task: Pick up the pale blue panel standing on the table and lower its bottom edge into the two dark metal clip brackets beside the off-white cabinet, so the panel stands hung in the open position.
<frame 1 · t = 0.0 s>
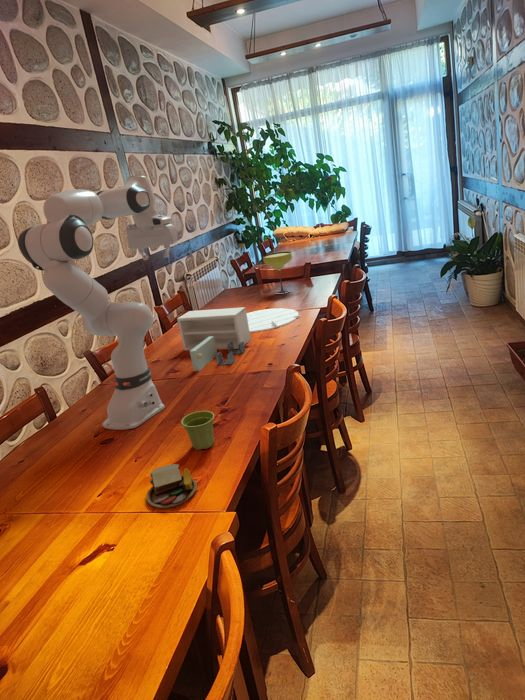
hand: (156, 258, 179), 48 cm above the table, tool pointing down, fingers open, 8 cm apart
toy sandwich meal: (171, 494, 117), on the table
plant pot: (203, 445, 136), on the table
hinge clips: (231, 357, 203), on the table
cocktail glass: (282, 293, 306), on the table
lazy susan: (262, 321, 251), on the table
pale blue panel: (206, 362, 203), on the table
cabinet: (217, 344, 224), on the table
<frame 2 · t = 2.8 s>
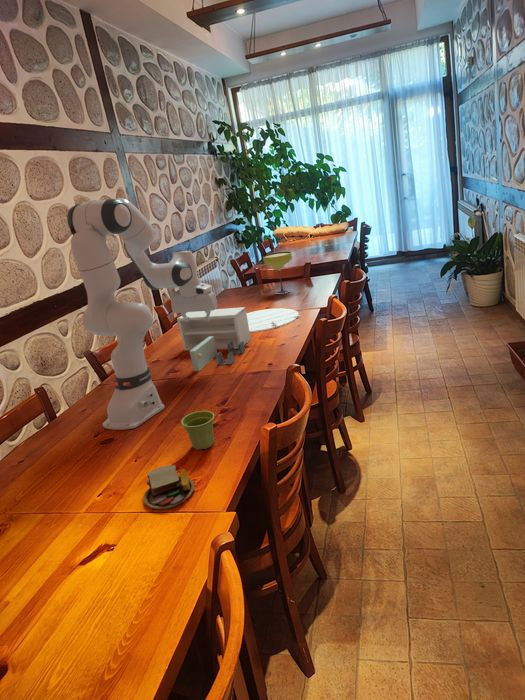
hand: (197, 321, 197), 19 cm above the table, tool pointing down, fingers open, 8 cm apart
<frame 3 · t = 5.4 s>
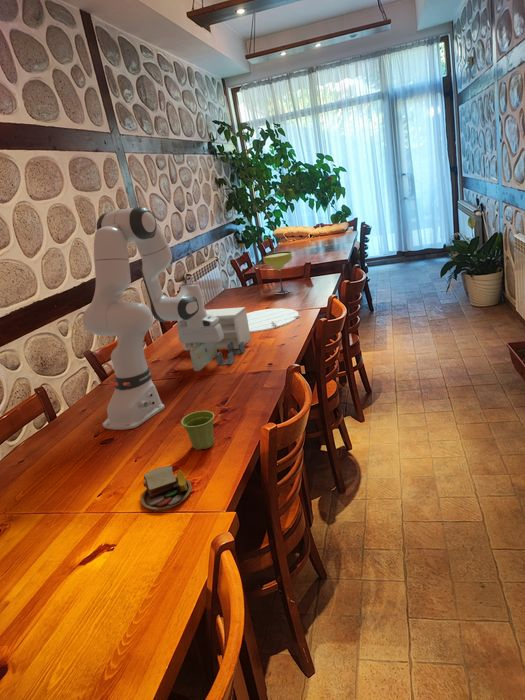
hand: (203, 351, 201), 5 cm above the table, tool pointing down, fingers closed on pale blue panel, 2 cm apart
pale blue panel: (206, 362, 203), on the table, touching gripper
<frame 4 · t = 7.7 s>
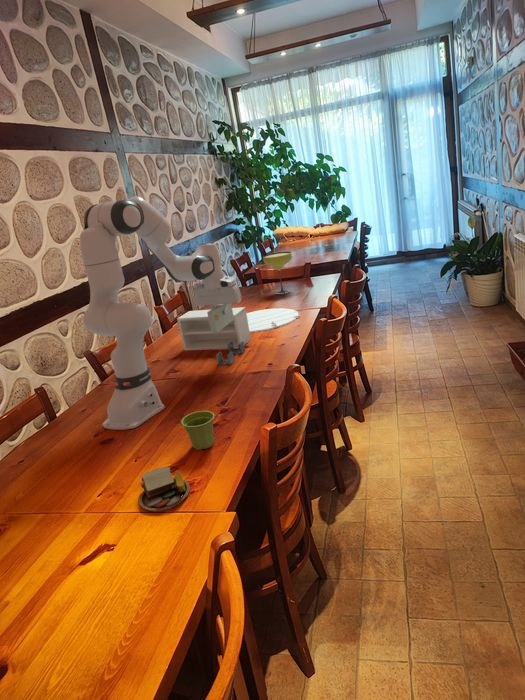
hand: (220, 314, 197), 20 cm above the table, tool pointing down, fingers closed on pale blue panel, 2 cm apart
pale blue panel: (223, 325, 199), point 15 cm above the table, touching gripper
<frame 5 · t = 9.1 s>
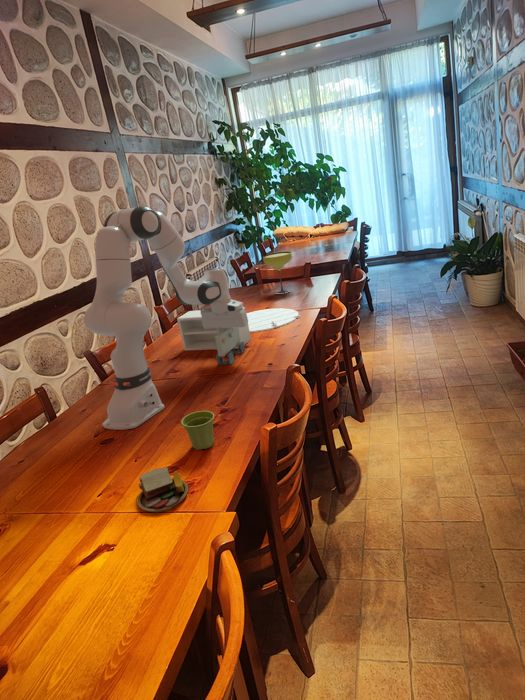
hand: (227, 337, 200), 9 cm above the table, tool pointing down, fingers closed on pale blue panel, 2 cm apart
pale blue panel: (230, 348, 202), point 4 cm above the table, touching gripper
when the fingers open (7 cm above the table, at t = 10.1 s): pale blue panel drops 1 cm, resting on hinge clips.
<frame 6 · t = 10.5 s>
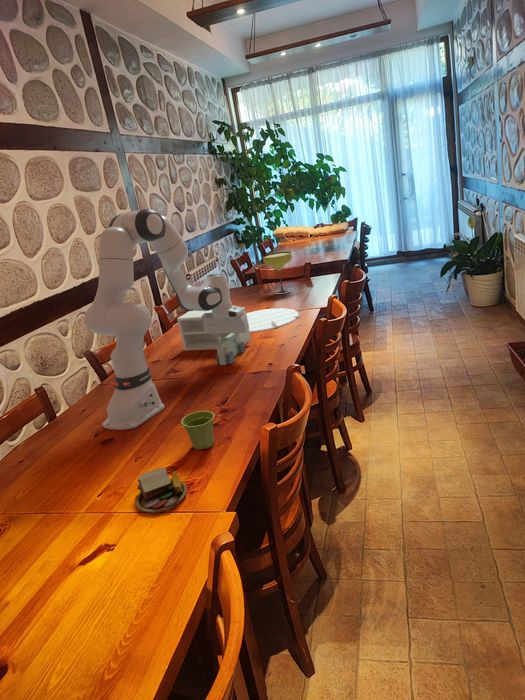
hand: (228, 342, 201), 7 cm above the table, tool pointing down, fingers open, 6 cm apart
pale blue panel: (231, 356, 203), resting on hinge clips
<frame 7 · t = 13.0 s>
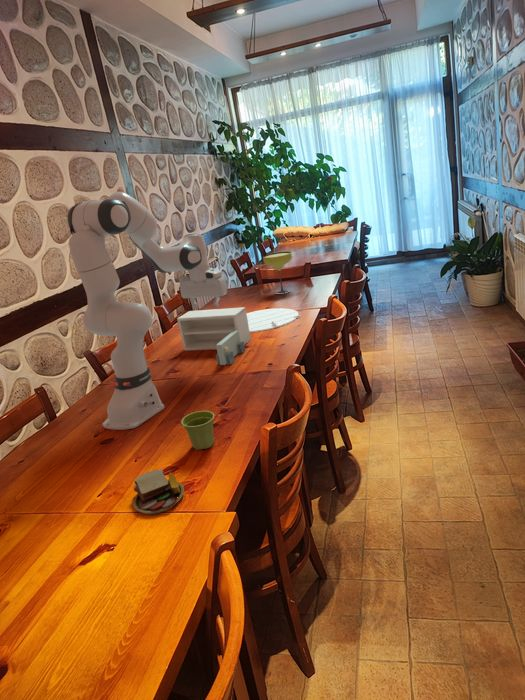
hand: (206, 307, 194), 24 cm above the table, tool pointing down, fingers open, 8 cm apart
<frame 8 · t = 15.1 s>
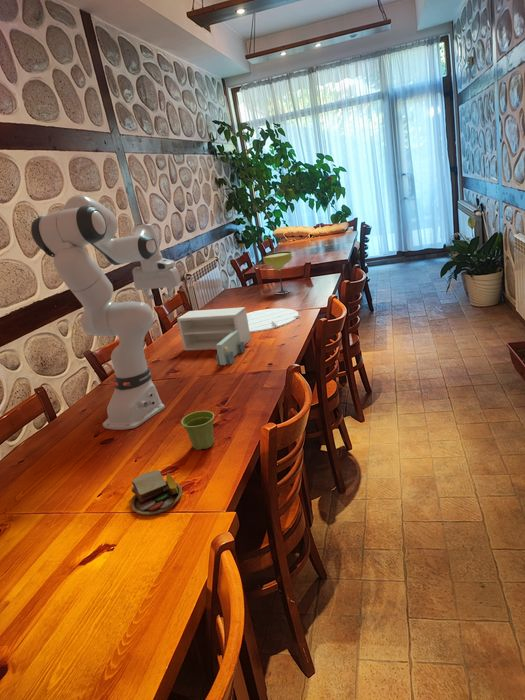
hand: (160, 298, 191), 31 cm above the table, tool pointing down, fingers open, 8 cm apart
at the end: pale blue panel 0.0 cm from the target spot, on the table; pale blue panel tilted 0°; the gripper is holding nothing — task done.
